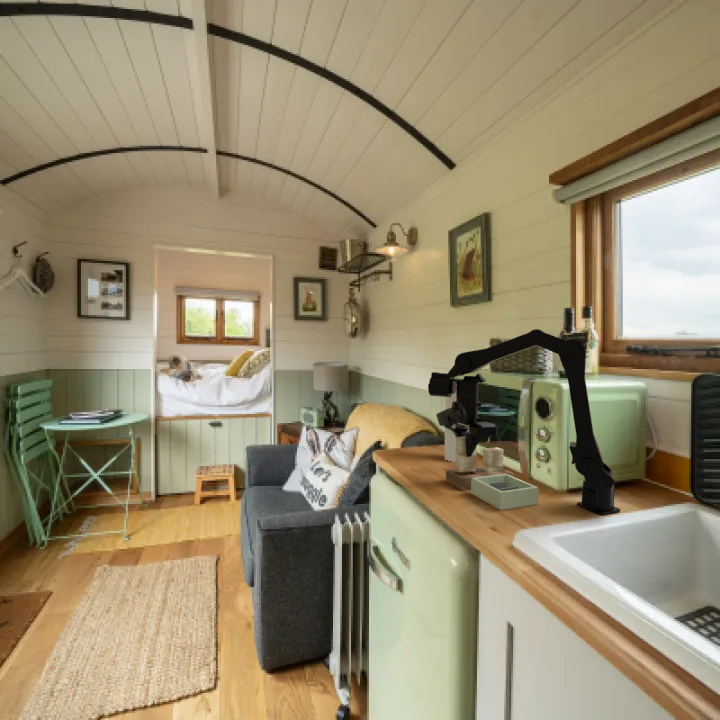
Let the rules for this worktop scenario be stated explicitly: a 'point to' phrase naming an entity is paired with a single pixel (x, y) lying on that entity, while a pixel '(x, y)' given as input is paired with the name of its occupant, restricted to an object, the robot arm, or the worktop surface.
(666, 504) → the worktop surface
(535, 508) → the worktop surface
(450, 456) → the cylindrical container
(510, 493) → the green open tray
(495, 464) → the block
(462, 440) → the block
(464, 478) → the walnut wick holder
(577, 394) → the robot arm
